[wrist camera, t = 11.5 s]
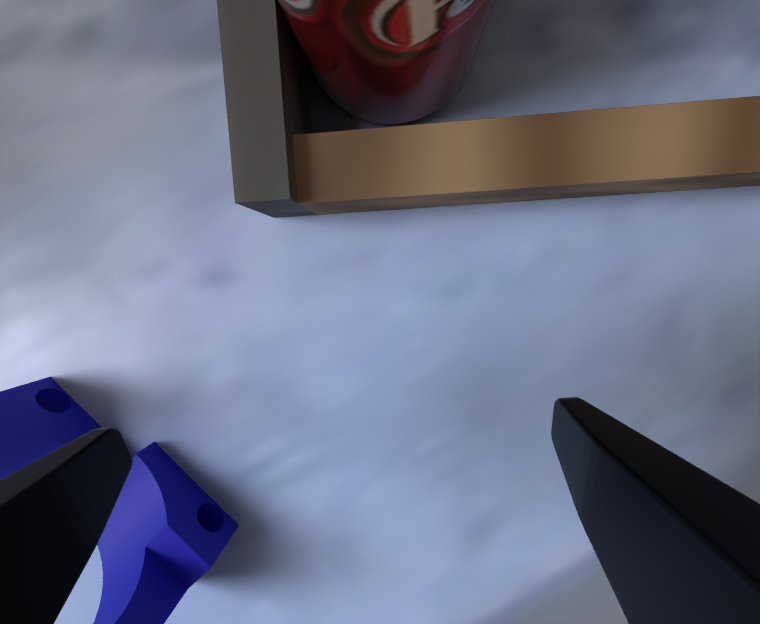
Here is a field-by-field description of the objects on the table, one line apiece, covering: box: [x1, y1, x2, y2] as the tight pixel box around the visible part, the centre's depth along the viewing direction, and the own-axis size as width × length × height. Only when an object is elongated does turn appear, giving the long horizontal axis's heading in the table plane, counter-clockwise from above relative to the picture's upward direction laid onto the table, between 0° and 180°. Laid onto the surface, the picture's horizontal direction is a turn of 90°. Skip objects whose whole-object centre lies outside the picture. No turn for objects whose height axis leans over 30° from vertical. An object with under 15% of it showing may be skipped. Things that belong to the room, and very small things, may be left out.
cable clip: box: [0, 377, 239, 624], centre depth 17 cm, size 12×4×6 cm, turn 44°
